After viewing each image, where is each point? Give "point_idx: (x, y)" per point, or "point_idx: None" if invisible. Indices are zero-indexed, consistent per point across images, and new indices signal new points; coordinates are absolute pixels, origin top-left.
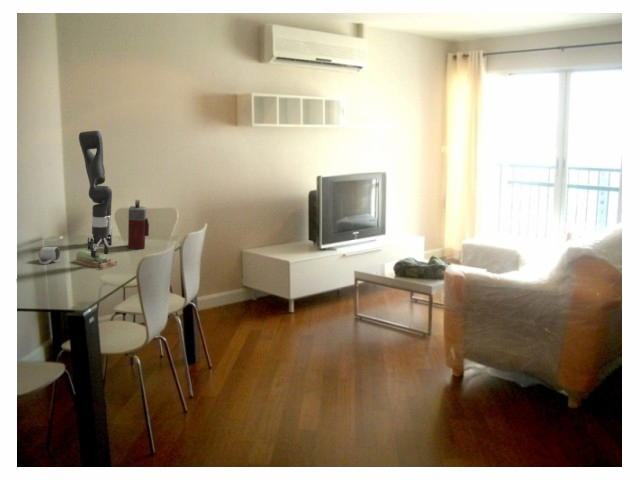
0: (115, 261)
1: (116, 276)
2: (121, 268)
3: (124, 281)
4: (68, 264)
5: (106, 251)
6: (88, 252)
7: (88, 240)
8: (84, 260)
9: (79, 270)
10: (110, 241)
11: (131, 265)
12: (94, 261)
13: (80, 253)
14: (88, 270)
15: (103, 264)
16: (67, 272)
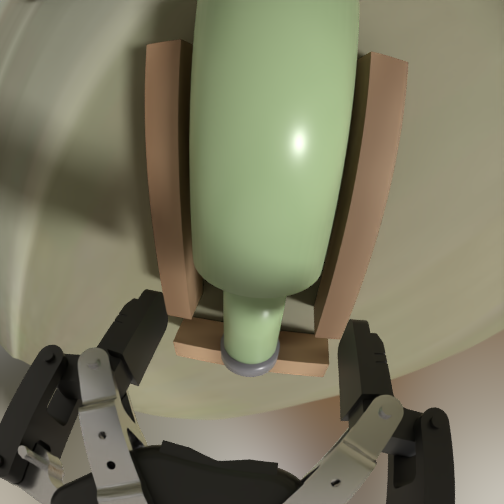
0: (307, 372)
1: (162, 395)
2: (275, 382)
3: (150, 414)
4: (102, 57)
5: (342, 372)
6: (235, 152)
7: (2, 443)
8: (148, 175)
9: (74, 237)
10: (397, 485)
11: None
12: (185, 279)
13: (199, 27)
14: (110, 278)
15: (184, 355)
16: (25, 214)
